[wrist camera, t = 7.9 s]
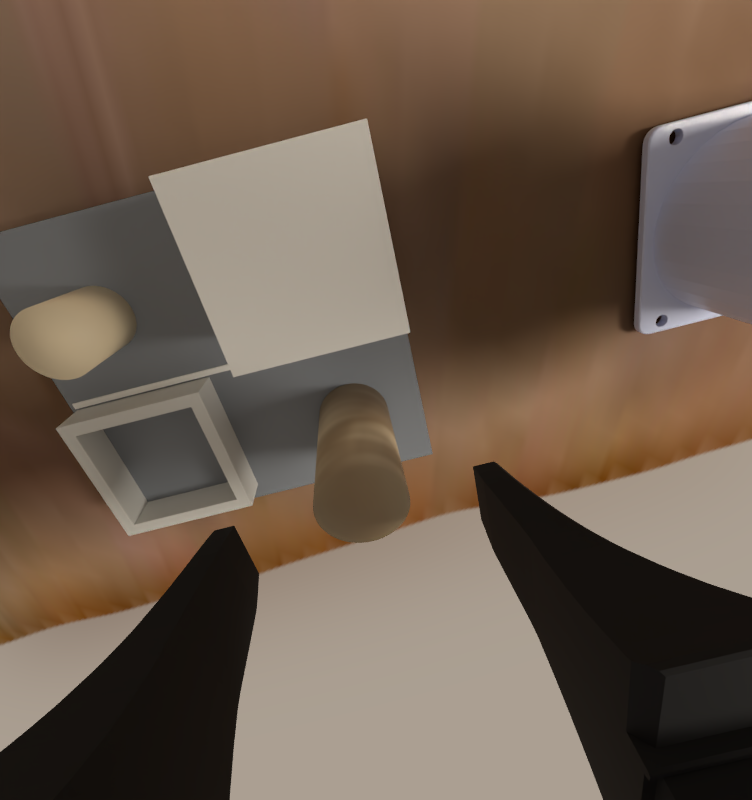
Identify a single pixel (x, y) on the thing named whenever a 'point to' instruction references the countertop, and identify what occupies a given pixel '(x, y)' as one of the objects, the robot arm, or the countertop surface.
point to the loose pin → (358, 467)
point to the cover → (288, 247)
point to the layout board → (172, 371)
